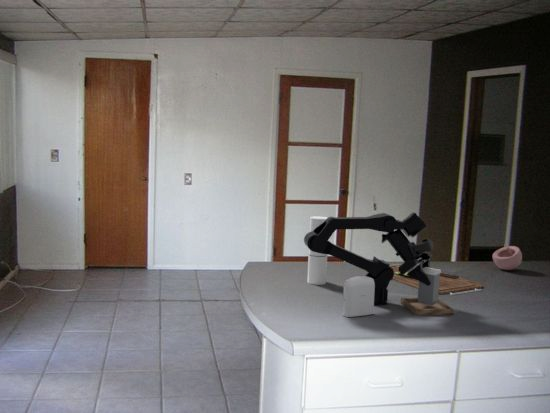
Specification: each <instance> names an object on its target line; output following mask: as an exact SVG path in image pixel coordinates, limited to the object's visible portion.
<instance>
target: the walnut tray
mask: <svg viewBox="0 0 550 413" xmlns="http://www.w3.org/2000/svg"><path fill="white" fill-rule="evenodd" d="M417 301H418V297H401V298H400V304H401V305H403V307H405V309H407V310H408V311H409V312H410V313H412V314H413V315H414V316H453V315H454V310H455V309H454V308H453V307H451V306H449V305H448V304H447V303H445V302H443V301H442V300H441V299H439V298H438V302H437V303H436V304H434V305H428V304H423V303H419V302H417Z"/></svg>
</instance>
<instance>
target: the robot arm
mask: <svg viewBox="0 0 550 413" xmlns="http://www.w3.org/2000/svg"><path fill="white" fill-rule="evenodd" d="M426 229H427V225H426V223H425V221H424V220H422V218H421V217H419V216H418V215H417V213H416V212H411V213H410V214H409V215H408V216H406V217H405V218H404V219H403V220H399V219H397V218H396V217H395V216H392V215H391V214H388V213H385V212H382V213H381V212H380V213H376V214H372V215H370V216H346V217H345V216H339V217H338V216H337V217H334V216H329V217H328V218H327V219H326V220H325V221H324V222H323V223H322V224H320V225H319V226H318V227H316V228H315V229H314V230H313V231H311V232H310V231H308V232H307V233H306V234H305V235H304V238H303V242H304V245H305V246H306V247H307V248H308V250H309V249H310V250H311V251H313V252H317V253H321V254H327V256H328V255H329V256H331V257H334V258H337V259H338V260H341V261H343V262H345V263H347V264H350V265H351V266H355V267H357V268H359V269H361V270H364V271H365V272H367V273H366V274H365V275H364V276H366V277H370V278H372V279H373V280H374V283H375V291H374V306H375V305H377V306H378V305H379V306H380V305H388V296H389V289H387V288H388V287H389V284H390V281H393V280H392V279H393V277H394V271H393V269H392V268H391V267H390V265H391V264H390V263H388V262H387V261H385V260H384V259H379V258H377V257H376V256H373V258H372V259H368V258H366V257H364V256H362V255H359V254H357V253H355V252H353V251H350V250H348V249H346V248H344V247H341V246H340V245H337V244H334V243H332V242H331V241H330V240H329V239H330V238H331V237H332V235H334V233H335V231H337V230H373V231H377V232H382V234H381V240H380V241H381V242H380V243H382V244H383V243H385V242H388V243H389V245H390V246H391V247H392V248H393V250H394V251H395V252H396V253H395V256H396V257H400V258H401V260H402V261H403V263H401V264H402V265H401V264H400V265H401V266H399V272H400V274H401V275H404V274H405V273H406V272H407V271H409V273H407V274H406V275H407V276H410V277H412V278H415V279H416V280H418V281H420V282H422V283H424V284H426V285H428V286H429V285H430V284H431V283H430V281H429V279H428V278H427V276H426V275H425V273H424V271H423V270H422V268H425V267H428V268H431V265H430V263H431V260H432V259H431V258H432V257H433V254H432V253H431V251H433V250H435V247H434V244H435V243H434V242H433V241H432V239H430V238H428V237H427V238H423V239H422V240H421V243H418V244H416V243H415V242H413V241H411V240H409V237H411V238H415V237H416V236H417V235H419V234H420V233H422V232H423V231H424V230H426Z"/></svg>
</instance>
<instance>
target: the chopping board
mask: <svg viewBox="0 0 550 413" xmlns="http://www.w3.org/2000/svg"><path fill="white" fill-rule="evenodd" d="M402 264H403V263H394V264H390V267H391V268H392V269H393V271H394V277H393V279H392V280H391V281H394V280H395V281H394V282H398V283H400V284H403V285H406V286H408V287H412V288H414V289H417V290H418V289H419V281H418V280H416V279H415V278H412V277H410V276H407V275H406V274H407V273H409V271H407V272H406V273H405V274H404V275H401V274H400V272H399V266H401V265H402ZM482 288H483V285H482V283H479V282H476V281H472V280H468V279H465V278H462V277H460V276H459V275H455V274H450V273H447V272H442V271H441V273H440V282H439V293H438V295H446V294H450V296H454V295H462V294H469V293H474V292H481V291H482Z"/></svg>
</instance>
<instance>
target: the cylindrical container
mask: <svg viewBox="0 0 550 413" xmlns="http://www.w3.org/2000/svg"><path fill="white" fill-rule="evenodd" d="M327 218H328V217H327V216H319V215H317V216H315V215H314V216H310V217H309V232H311V231H313V230H314V229H315V228H316V227H318V226H319V225H320V224H322V223H323V222H324V221H325V220H326V219H327ZM307 258H308V259H307V281H306V282H307V284H311V285H320V286H322V285H326V284H327V270H328V254H321V253H317V252H313V251H311V250H310V249H309V248H308V257H307Z"/></svg>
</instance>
